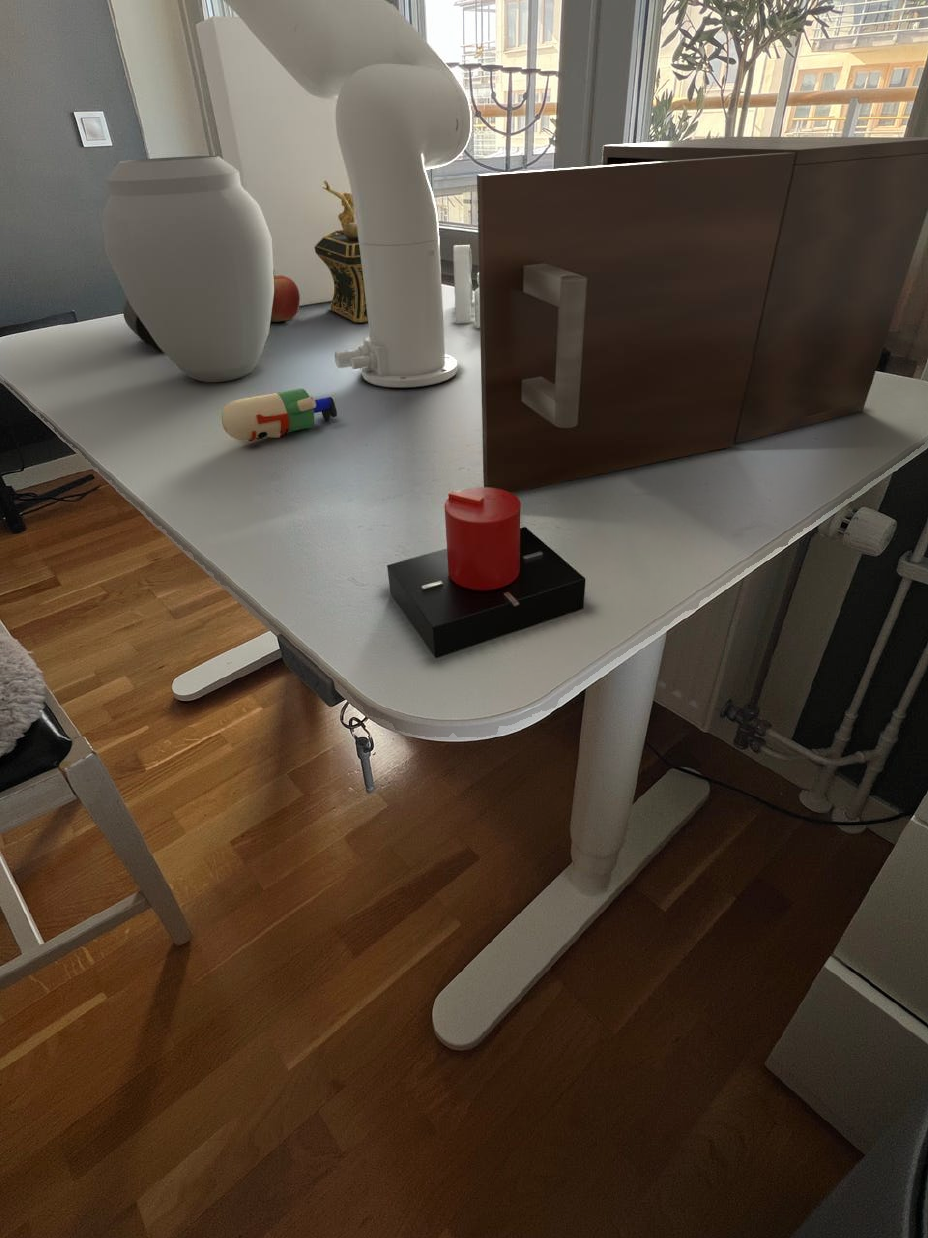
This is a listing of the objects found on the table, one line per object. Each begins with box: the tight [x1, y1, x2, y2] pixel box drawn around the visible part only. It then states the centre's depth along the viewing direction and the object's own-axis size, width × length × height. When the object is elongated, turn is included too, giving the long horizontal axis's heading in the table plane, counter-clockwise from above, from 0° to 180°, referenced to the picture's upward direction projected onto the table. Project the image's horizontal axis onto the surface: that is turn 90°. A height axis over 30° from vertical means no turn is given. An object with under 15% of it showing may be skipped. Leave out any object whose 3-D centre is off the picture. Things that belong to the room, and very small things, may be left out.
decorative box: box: [315, 181, 368, 324], centre depth 110 cm, size 20×10×20 cm, turn 29°
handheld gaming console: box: [452, 244, 474, 324], centre depth 113 cm, size 11×3×15 cm
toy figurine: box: [220, 388, 338, 442], centre depth 72 cm, size 8×4×12 cm
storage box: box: [195, 15, 356, 307], centre depth 118 cm, size 21×10×40 cm, turn 121°
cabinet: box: [601, 136, 928, 445], centre depth 72 cm, size 18×26×24 cm
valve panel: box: [386, 526, 587, 659], centre depth 46 cm, size 11×9×3 cm
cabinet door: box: [476, 153, 795, 494], centre depth 53 cm, size 8×26×24 cm, turn 111°
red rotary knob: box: [443, 486, 522, 591], centre depth 44 cm, size 5×5×5 cm
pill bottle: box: [473, 272, 480, 330], centre depth 105 cm, size 4×4×8 cm
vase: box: [101, 155, 274, 383], centre depth 85 cm, size 20×20×24 cm
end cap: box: [122, 299, 164, 353], centre depth 103 cm, size 10×7×7 cm
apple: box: [270, 269, 300, 323], centre depth 113 cm, size 8×8×8 cm
